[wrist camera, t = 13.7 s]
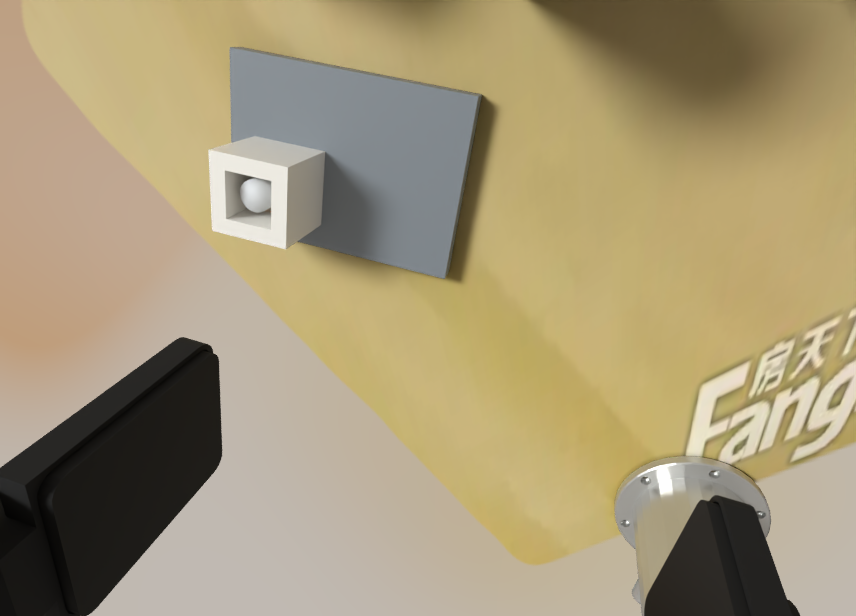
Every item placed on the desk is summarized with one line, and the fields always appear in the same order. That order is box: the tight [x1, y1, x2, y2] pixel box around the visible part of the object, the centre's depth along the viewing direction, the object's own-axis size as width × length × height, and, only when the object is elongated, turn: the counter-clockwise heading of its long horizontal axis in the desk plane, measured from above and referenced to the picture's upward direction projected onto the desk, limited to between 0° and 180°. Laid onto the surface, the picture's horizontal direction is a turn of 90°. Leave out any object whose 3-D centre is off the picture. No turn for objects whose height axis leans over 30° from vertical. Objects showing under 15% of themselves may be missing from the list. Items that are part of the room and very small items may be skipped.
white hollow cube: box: [209, 136, 325, 249], centre depth 41 cm, size 6×6×6 cm
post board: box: [230, 47, 482, 279], centre depth 41 cm, size 14×19×6 cm
